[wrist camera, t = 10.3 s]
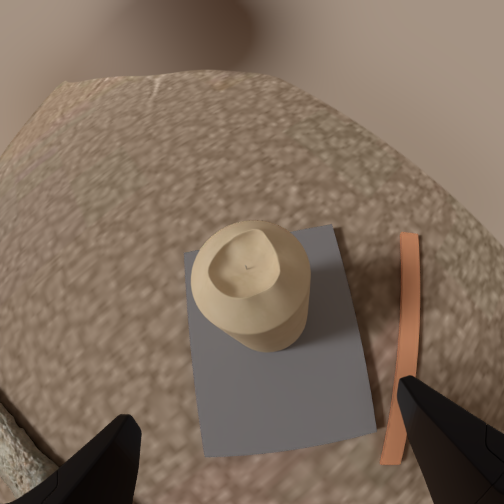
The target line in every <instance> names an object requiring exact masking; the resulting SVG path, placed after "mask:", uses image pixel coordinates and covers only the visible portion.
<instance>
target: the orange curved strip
mask: <svg viewBox="0 0 504 504" xmlns="http://www.w3.org/2000/svg"><path fill="white" fill-rule="evenodd" d="M400 251H401V296H400V321H399V337H398V350H397V361H396V370H395V379H394V387H393V394H392V401H391V407H390V414H389V419H388V425H387V430H386V436H385V441H384V445H383V450H382V455H381V459H380V464H381V465H399V464H401V460H402V455H403V451H404V446H405V441H406V436H407V433H406V429H405V425H404V422H403V418H402V415H401V412H400V408H399V405H398V401H397V389H398V382H399V379H400V378H402V377H405V376H408V375H412V376H414V377H416V368H417V357H418V343H419V324H420V260H419V241H418V234H414V233H405V232H401V234H400Z"/></svg>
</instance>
